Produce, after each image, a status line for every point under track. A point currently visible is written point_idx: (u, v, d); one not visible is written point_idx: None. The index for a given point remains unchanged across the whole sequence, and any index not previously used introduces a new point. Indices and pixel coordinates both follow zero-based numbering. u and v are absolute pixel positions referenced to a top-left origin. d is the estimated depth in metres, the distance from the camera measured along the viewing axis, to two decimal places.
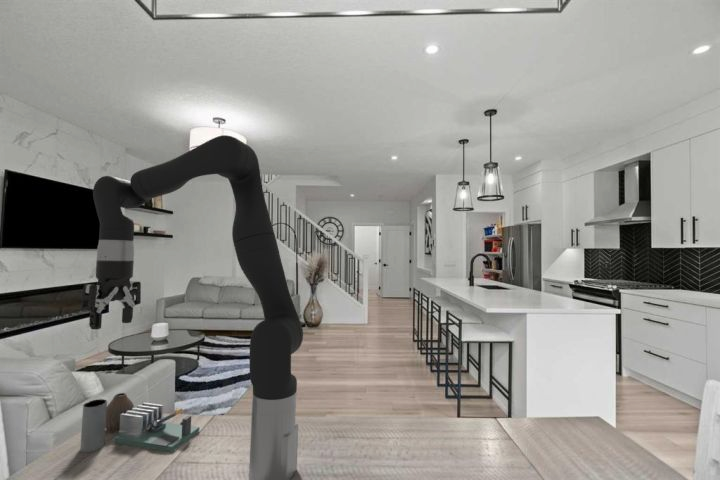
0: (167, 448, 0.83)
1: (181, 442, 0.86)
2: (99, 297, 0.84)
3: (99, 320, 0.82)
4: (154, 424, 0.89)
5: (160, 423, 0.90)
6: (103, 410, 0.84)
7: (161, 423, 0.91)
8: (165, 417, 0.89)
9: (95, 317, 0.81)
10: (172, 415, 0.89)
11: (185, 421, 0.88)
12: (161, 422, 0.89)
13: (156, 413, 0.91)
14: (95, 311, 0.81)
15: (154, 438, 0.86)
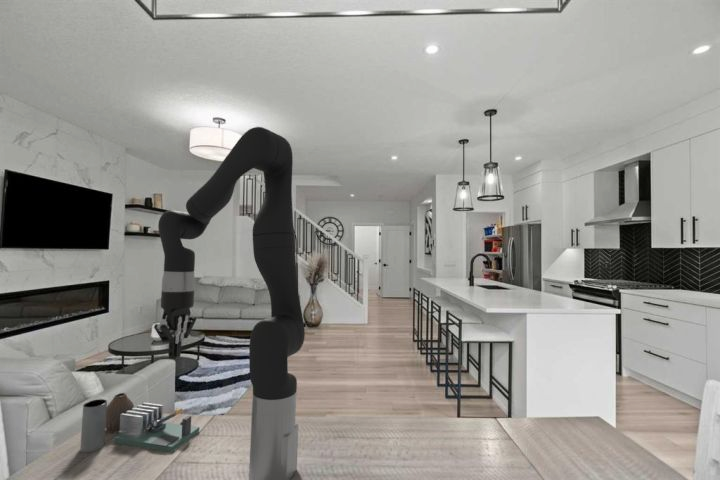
0: (167, 448, 0.83)
1: (181, 442, 0.86)
2: None
3: (177, 350, 0.89)
4: (154, 424, 0.89)
5: (160, 423, 0.90)
6: (103, 410, 0.84)
7: (161, 423, 0.91)
8: (165, 417, 0.89)
9: (174, 347, 0.89)
10: (172, 415, 0.89)
11: (185, 421, 0.88)
12: (161, 422, 0.89)
13: (156, 413, 0.91)
14: (174, 342, 0.89)
15: (154, 438, 0.86)
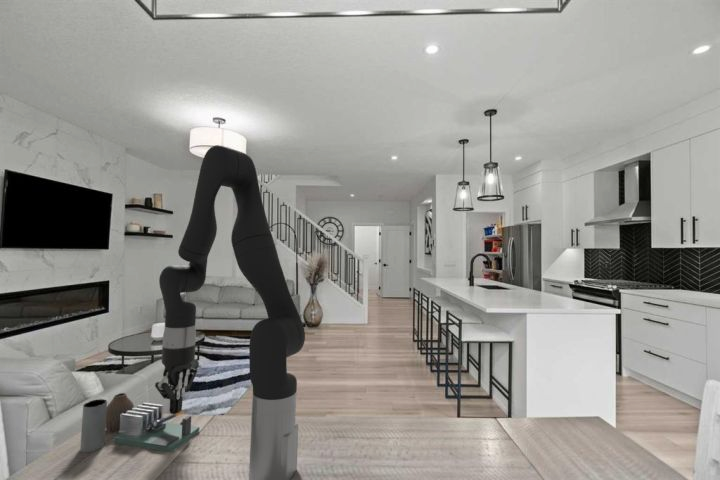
0: (167, 448, 0.83)
1: (181, 442, 0.86)
2: None
3: (178, 406, 0.89)
4: (154, 424, 0.89)
5: (160, 423, 0.90)
6: (103, 410, 0.84)
7: (161, 423, 0.91)
8: (165, 417, 0.89)
9: (175, 403, 0.89)
10: (172, 416, 0.89)
11: (185, 421, 0.88)
12: (161, 422, 0.89)
13: (156, 413, 0.91)
14: (175, 398, 0.88)
15: (154, 438, 0.86)
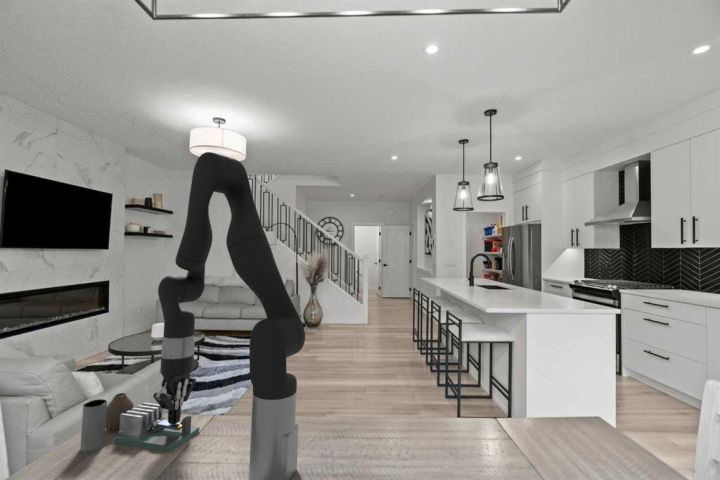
0: (167, 448, 0.83)
1: (181, 442, 0.86)
2: None
3: (176, 416, 0.89)
4: (154, 425, 0.89)
5: None
6: (103, 410, 0.84)
7: None
8: (167, 424, 0.89)
9: (173, 413, 0.88)
10: (174, 428, 0.88)
11: (185, 421, 0.88)
12: None
13: (156, 413, 0.91)
14: (173, 408, 0.88)
15: (154, 438, 0.86)
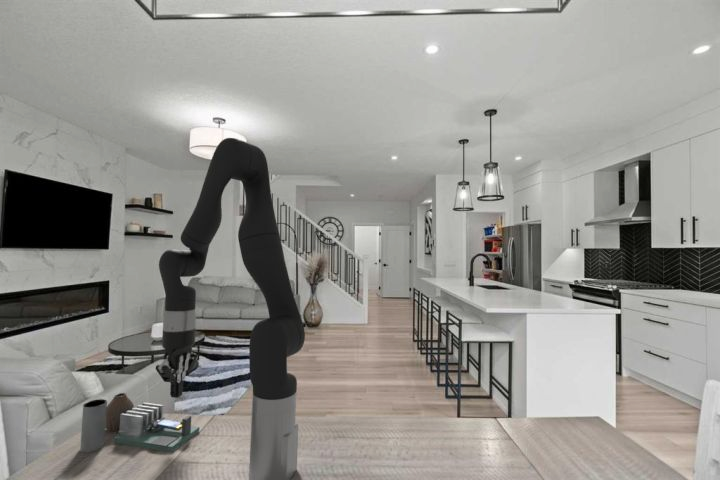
0: (167, 448, 0.83)
1: (181, 442, 0.86)
2: None
3: (178, 389, 0.89)
4: (154, 425, 0.89)
5: None
6: (103, 410, 0.84)
7: None
8: (167, 424, 0.89)
9: (175, 387, 0.89)
10: (174, 428, 0.88)
11: (185, 421, 0.88)
12: None
13: (156, 413, 0.91)
14: (175, 381, 0.89)
15: (154, 438, 0.86)
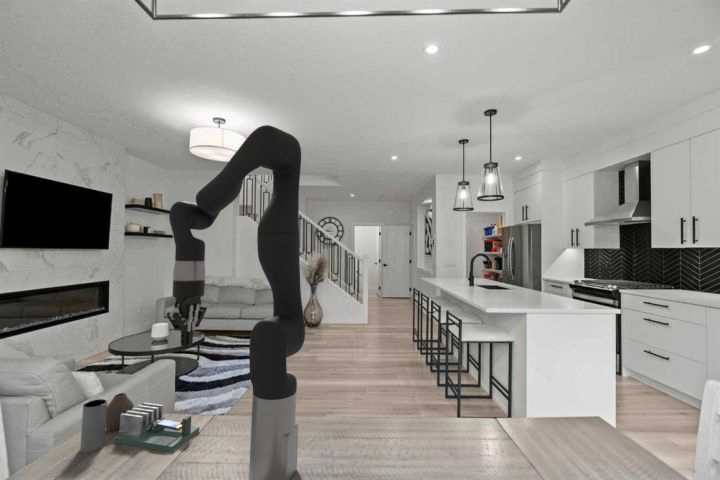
0: (167, 448, 0.83)
1: (181, 442, 0.86)
2: None
3: (189, 338, 0.91)
4: (154, 425, 0.89)
5: None
6: (103, 410, 0.84)
7: None
8: (167, 424, 0.89)
9: (186, 335, 0.90)
10: (174, 428, 0.88)
11: (185, 421, 0.88)
12: None
13: (156, 413, 0.91)
14: (186, 330, 0.90)
15: (154, 438, 0.86)
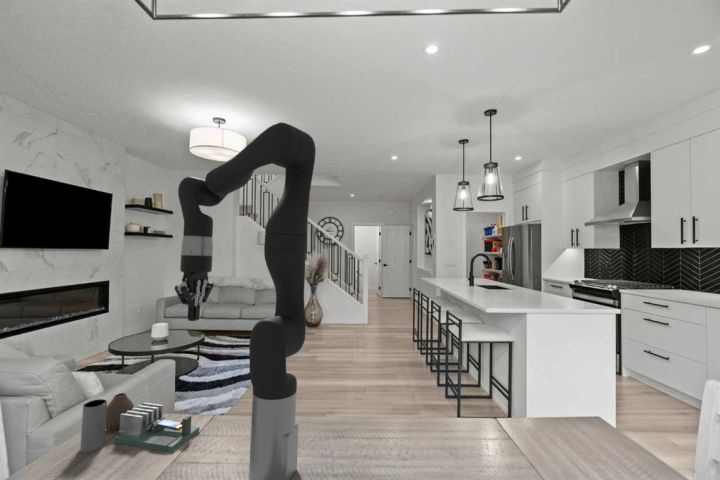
0: (167, 448, 0.83)
1: (181, 442, 0.86)
2: None
3: (196, 313, 0.92)
4: (154, 425, 0.89)
5: None
6: (103, 410, 0.84)
7: None
8: (167, 424, 0.89)
9: (193, 310, 0.91)
10: (174, 428, 0.88)
11: (185, 421, 0.88)
12: None
13: (156, 413, 0.91)
14: (193, 305, 0.91)
15: (154, 438, 0.86)
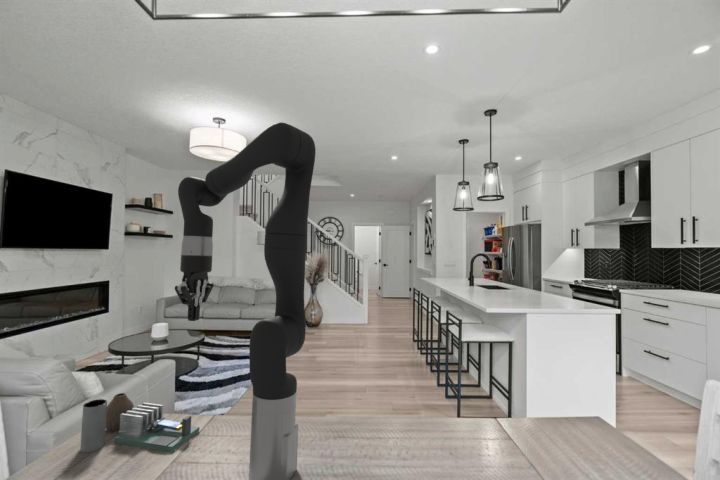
0: (167, 448, 0.83)
1: (181, 442, 0.86)
2: None
3: (196, 313, 0.92)
4: (154, 425, 0.89)
5: None
6: (103, 410, 0.84)
7: None
8: (167, 424, 0.89)
9: (193, 310, 0.91)
10: (174, 428, 0.88)
11: (185, 421, 0.88)
12: None
13: (156, 413, 0.91)
14: (193, 305, 0.91)
15: (154, 438, 0.86)
